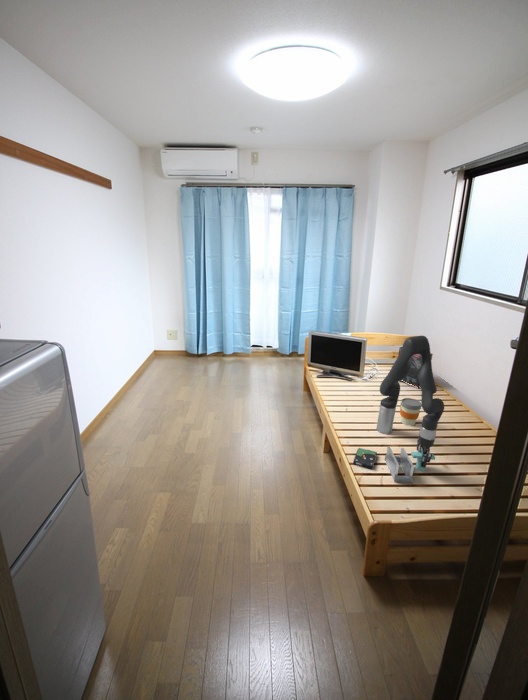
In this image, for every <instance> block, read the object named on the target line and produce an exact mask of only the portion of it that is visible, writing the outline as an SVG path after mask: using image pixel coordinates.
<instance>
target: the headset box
mask: <svg viewBox="0 0 528 700" xmlns="http://www.w3.org/2000/svg"><path fill="white" fill-rule="evenodd" d="M398 349H399V350H398V356H399V354H400V351H401V349H402V346H400V347H399V348H398ZM433 355H434V353H431V361H432V359H433ZM398 356H397V357H398ZM409 361H410V363H411V370H410V372H409V373H408V375H407V376H406V377H405V378H404V379H402V380H403V381H405V382H407V383H409V384H412V385H414V386H417V387H419V386H420V383H419V373H420V369H421V366H422V356H421V354H415V355H412V356H411V357H410V359H409Z"/></svg>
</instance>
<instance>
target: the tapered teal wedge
mask: <svg viewBox="0 0 528 700" xmlns="http://www.w3.org/2000/svg"><path fill="white" fill-rule="evenodd" d="M410 455H411V458H412V459H416V464H415V467H416V469H417V471H423V472H425V471H426V467H427V466H426V467H425V468H424V467H421V464H422V452H418V451H411V452H410ZM424 455H426V454H424ZM424 459H425V457H424ZM431 460H434V461H435V460H436V456H435V455H434V454H433V452H432V457H431ZM431 460H430V461H431Z"/></svg>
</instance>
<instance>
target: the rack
mask: <svg viewBox="0 0 528 700" xmlns="http://www.w3.org/2000/svg"><path fill="white" fill-rule="evenodd" d="M385 461H386V462H385ZM384 462H385V464H386V466H387V469H388V471H389V470H390V471H389V473H390V476H391V477H392V479H393V482H394V483H401V482H402V483H401V484H413V481H414V480H413V479H414V478H413V474H414V469H415V465H414V463H413V462H412V460H411V458H410V456H409V455H408V453H407V451H406V450H405V448H404V447H401V449H400V454H399V455H395V454H394V452H393V450H392V448H391V446H387V449H386V455H385V456H384ZM400 468H401V470H402V469H403V470H402V471H404V472H403V474H404V473H405V474H404V475H398V473H399V469H400Z"/></svg>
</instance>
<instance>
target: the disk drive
mask: <svg viewBox="0 0 528 700" xmlns="http://www.w3.org/2000/svg"><path fill="white" fill-rule="evenodd" d="M377 454H378V452H377V451H374V450H370V449H365V448H362V447H359V448H357V451H356V453H355V456H354V458H353V464H352V465H355V466H357V467H361V468H365V469H368V470H371V471H373V470H374V466H375V461H376V459H377Z"/></svg>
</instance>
